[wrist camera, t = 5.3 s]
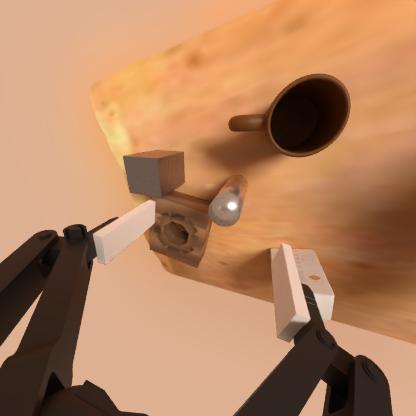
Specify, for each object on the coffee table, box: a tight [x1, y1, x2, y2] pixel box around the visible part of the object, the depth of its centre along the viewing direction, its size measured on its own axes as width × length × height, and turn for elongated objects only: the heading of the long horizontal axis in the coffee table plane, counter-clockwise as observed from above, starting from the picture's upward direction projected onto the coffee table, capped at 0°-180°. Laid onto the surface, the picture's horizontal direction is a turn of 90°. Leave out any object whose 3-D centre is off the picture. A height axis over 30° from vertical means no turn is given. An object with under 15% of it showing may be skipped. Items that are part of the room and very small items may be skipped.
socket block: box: [150, 190, 212, 268], centre depth 36 cm, size 14×12×5 cm
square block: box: [123, 150, 185, 197], centre depth 29 cm, size 6×6×9 cm
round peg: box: [208, 175, 248, 226], centre depth 25 cm, size 4×4×12 cm
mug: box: [228, 74, 350, 157], centre depth 21 cm, size 12×8×9 cm, turn 92°
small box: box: [270, 248, 335, 321], centre depth 29 cm, size 8×6×10 cm
